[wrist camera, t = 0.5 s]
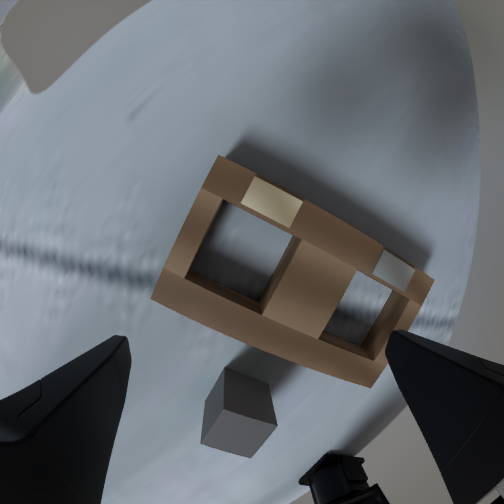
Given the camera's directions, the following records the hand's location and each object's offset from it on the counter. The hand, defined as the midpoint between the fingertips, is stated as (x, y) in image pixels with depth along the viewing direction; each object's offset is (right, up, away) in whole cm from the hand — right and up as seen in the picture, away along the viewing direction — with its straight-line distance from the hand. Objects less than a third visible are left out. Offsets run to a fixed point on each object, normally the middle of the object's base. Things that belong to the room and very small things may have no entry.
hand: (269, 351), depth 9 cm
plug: (-2, -10, +16) cm, 19 cm away
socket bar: (+3, +1, +14) cm, 15 cm away
